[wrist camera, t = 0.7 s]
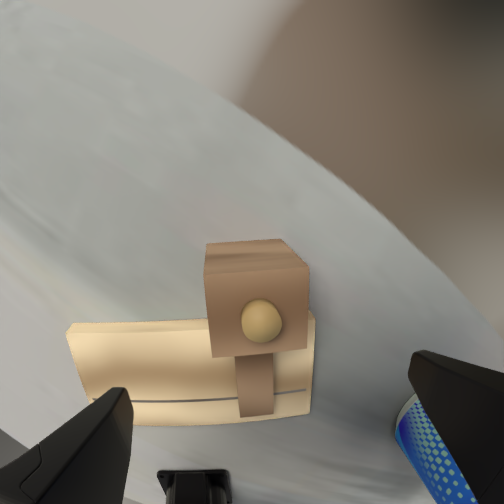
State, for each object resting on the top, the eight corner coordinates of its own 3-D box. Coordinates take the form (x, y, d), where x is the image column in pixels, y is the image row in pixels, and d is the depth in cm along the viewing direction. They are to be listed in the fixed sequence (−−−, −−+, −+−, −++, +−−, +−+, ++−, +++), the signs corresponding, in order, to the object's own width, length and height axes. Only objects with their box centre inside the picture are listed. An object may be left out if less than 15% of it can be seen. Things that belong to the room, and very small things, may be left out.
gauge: (281, 386, 22) (304, 455, 15) (221, 392, 21) (226, 465, 14) (280, 238, 19) (316, 273, 12) (206, 243, 19) (202, 282, 12)
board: (304, 401, 22) (309, 413, 21) (102, 410, 21) (98, 423, 19) (308, 309, 20) (315, 319, 19) (73, 322, 19) (65, 333, 17)
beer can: (440, 359, 23) (553, 467, 8) (465, 392, 25) (551, 479, 10) (374, 424, 24) (454, 554, 9) (410, 445, 26) (477, 545, 11)
